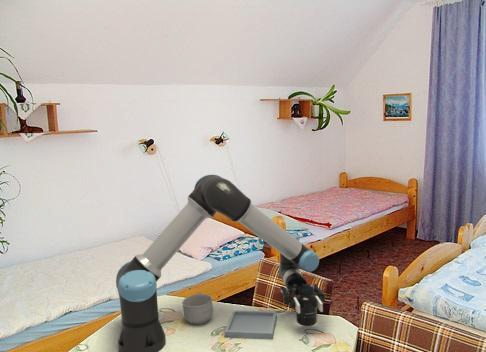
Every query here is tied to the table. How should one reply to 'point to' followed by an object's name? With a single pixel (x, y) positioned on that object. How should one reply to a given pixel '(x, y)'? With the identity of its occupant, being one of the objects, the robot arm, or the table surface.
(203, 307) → the teacup
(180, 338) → the table surface
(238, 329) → the tray
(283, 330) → the table surface
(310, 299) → the supplement bottle
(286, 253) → the robot arm
